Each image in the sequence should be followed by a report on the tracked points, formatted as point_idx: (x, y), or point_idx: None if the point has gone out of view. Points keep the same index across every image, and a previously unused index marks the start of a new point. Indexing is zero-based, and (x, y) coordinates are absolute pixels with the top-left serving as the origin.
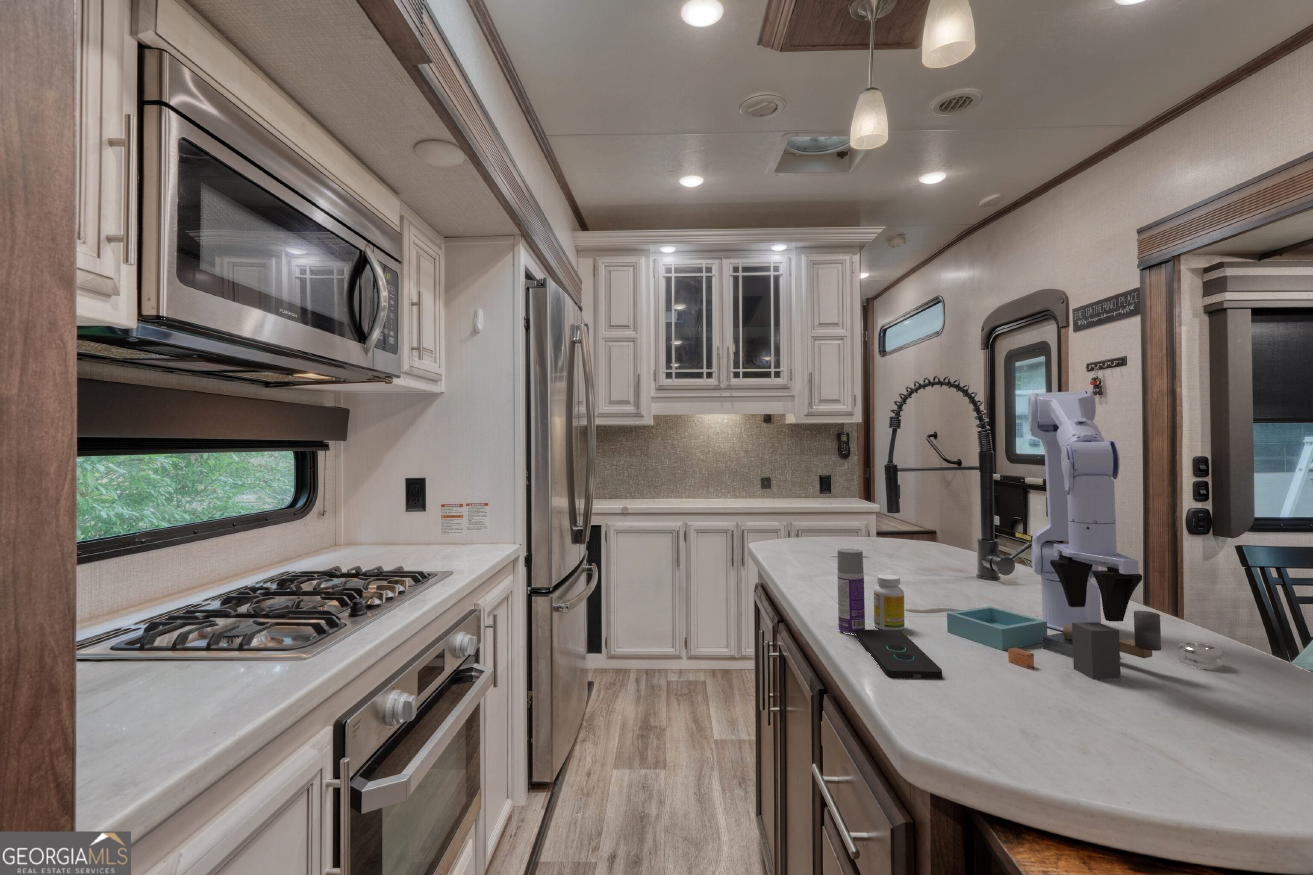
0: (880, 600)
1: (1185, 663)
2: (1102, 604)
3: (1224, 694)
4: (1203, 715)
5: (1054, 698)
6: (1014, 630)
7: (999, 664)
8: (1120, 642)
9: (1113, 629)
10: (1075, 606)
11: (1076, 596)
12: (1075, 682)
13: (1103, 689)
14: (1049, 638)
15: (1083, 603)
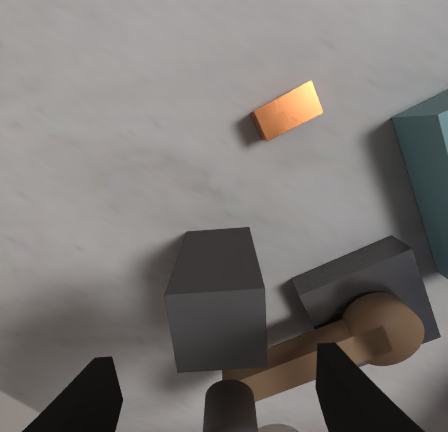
0: None
1: (272, 427)
2: (67, 411)
3: (136, 394)
4: (30, 310)
5: (46, 71)
6: (443, 172)
7: (280, 46)
8: (268, 367)
9: (185, 363)
10: (317, 359)
11: (336, 408)
12: (161, 182)
13: (127, 218)
14: (391, 256)
15: (320, 399)
